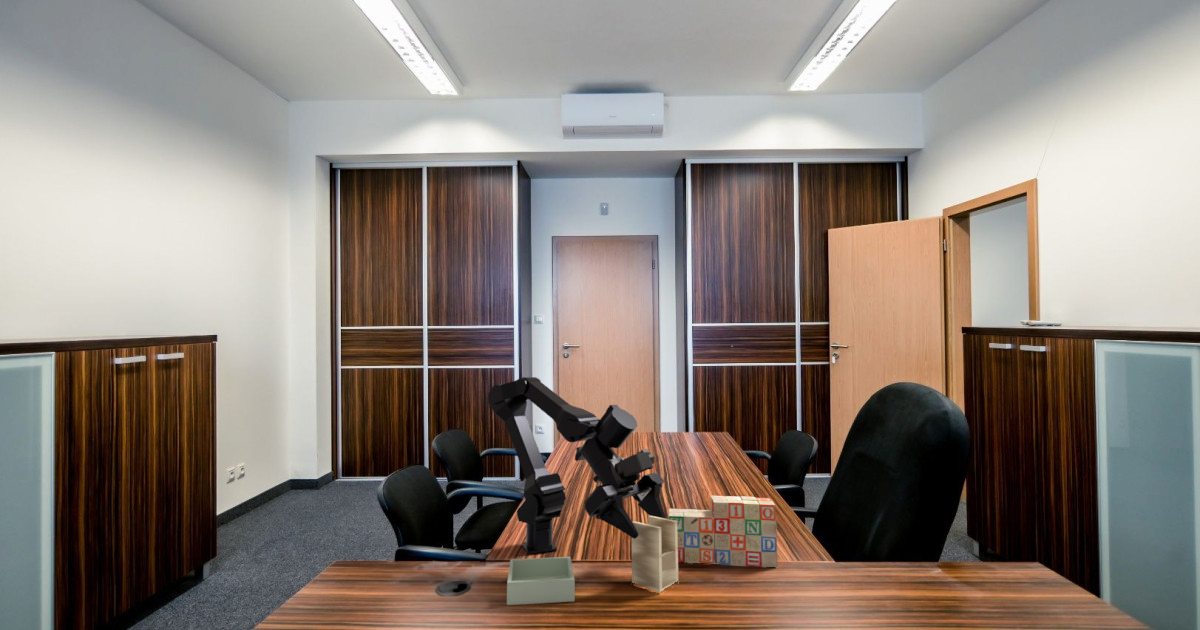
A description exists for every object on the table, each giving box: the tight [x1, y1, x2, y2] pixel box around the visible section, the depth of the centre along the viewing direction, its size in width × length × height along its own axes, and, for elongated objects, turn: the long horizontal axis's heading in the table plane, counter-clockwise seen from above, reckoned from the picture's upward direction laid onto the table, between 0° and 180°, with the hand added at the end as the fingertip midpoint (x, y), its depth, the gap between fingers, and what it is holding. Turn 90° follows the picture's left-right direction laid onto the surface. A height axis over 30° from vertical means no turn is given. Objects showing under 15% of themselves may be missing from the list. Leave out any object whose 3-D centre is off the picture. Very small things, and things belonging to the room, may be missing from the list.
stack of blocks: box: [668, 495, 778, 568], centre depth 107 cm, size 21×6×12 cm, turn 81°
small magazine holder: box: [631, 515, 679, 592], centre depth 94 cm, size 6×6×11 cm
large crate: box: [506, 556, 576, 606], centre depth 92 cm, size 11×11×4 cm
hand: (651, 531), depth 95 cm, fingers open, 9 cm apart
